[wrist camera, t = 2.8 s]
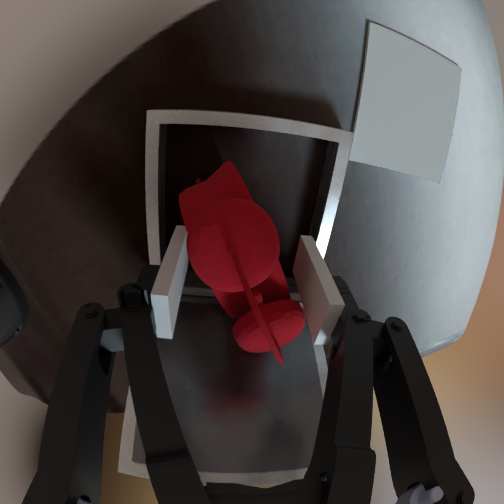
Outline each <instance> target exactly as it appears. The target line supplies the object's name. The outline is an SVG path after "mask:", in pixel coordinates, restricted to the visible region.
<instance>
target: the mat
mask: <svg viewBox="0 0 504 504" xmlns="http://www.w3.org/2000/svg"><path fill="white" fill-rule="evenodd" d="M461 69H462V68H460V67H458V66H457V65H455V64H454V63H452V62H451V61H449V60H447V59H446V58H444V57H442V56H441V55H439V54H437V53H435V52H434V51H432V50H430V49H428V48H426V47H425V46H423V45H421V44H419V43H417V42H415V41H413V40H411V39H409V38H407V37H405V36H403V35H400V34H398V33H396V32H394V31H391V30H389V29H387V28H384V27H382V26H380V25H377V24H374V23H372V22H369V23H368V30H367V40H366V49H365V57H364V65H363V72H362V79H361V86H360V92H359V98H358V104H357V110H356V116H355V121H354V127H353V133H354V134H353V139H352V144H351V149H350V154H349V159H348V160H351V161H356V162H361V163H365V164H370V165H374V166H378V167H382V168H386V169H390V170H394V171H398V172H402V173H405V174H409V175H412V176H416V177H419V178H423V179H426V180H429V181H433V182H436V183H439V184H440V181H441V178H442V174H443V171H444V167H445V163H446V159H447V155H448V151H449V146H450V142H451V137H452V132H453V127H454V122H455V116H456V110H457V104H458V97H459V89H460V80H461Z"/></svg>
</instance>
